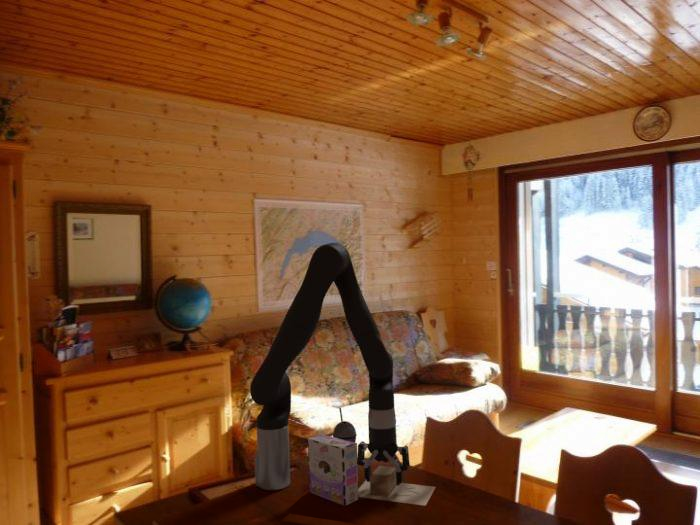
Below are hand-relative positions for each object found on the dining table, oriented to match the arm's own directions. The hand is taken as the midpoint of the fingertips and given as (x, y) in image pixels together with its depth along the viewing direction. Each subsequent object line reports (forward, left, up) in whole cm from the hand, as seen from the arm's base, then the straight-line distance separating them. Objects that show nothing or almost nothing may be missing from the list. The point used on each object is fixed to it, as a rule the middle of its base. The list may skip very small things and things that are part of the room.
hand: (383, 482), depth 150 cm
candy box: (-12, -7, -4) cm, 14 cm away
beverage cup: (-16, +12, -4) cm, 20 cm away
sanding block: (0, 0, -2) cm, 2 cm away
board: (+3, 0, -4) cm, 5 cm away
